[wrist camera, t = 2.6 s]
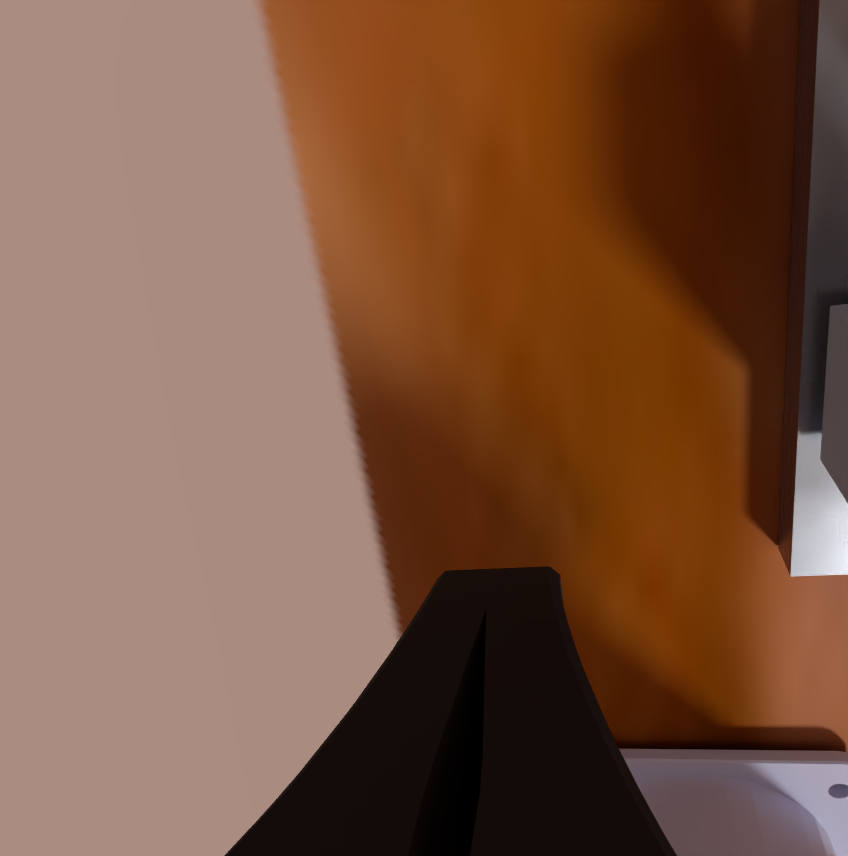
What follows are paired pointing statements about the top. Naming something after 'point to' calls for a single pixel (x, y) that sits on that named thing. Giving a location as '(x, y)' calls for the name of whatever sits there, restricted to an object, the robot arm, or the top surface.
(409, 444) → the top surface
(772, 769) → the robot arm
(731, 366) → the top surface
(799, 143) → the bolt plate
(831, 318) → the sliding leg
